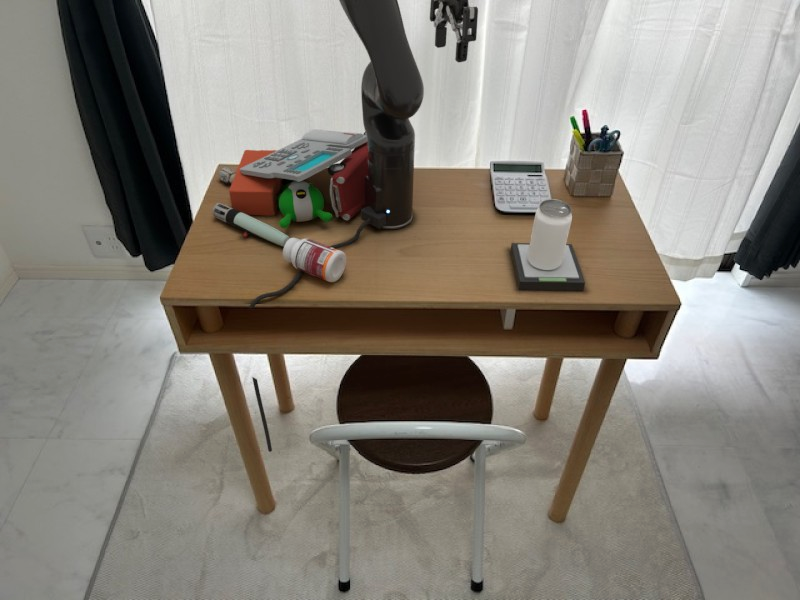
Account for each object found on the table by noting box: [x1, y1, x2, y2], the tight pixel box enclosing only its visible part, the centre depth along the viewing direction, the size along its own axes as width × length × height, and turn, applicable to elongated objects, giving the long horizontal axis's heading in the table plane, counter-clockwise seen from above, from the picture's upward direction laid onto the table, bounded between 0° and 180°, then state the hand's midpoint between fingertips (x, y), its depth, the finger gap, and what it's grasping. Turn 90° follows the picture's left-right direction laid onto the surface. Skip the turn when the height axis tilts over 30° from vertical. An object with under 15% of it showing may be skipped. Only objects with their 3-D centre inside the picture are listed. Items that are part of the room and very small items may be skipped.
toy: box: [277, 180, 333, 229], centre depth 130 cm, size 11×8×15 cm
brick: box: [228, 149, 283, 217], centre depth 136 cm, size 18×9×6 cm, turn 0°
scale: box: [509, 242, 586, 292], centre depth 118 cm, size 12×12×2 cm
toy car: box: [327, 130, 368, 221], centre depth 135 cm, size 11×25×10 cm
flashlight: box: [211, 202, 291, 248], centre depth 126 cm, size 3×4×20 cm
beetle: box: [218, 167, 237, 187], centre depth 140 cm, size 4×7×3 cm, turn 70°
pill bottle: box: [282, 237, 347, 283], centre depth 116 cm, size 6×6×11 cm
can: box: [527, 198, 573, 271], centre depth 113 cm, size 6×6×12 cm
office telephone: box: [240, 128, 367, 182], centre depth 132 cm, size 23×3×20 cm
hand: (450, 53), depth 123 cm, fingers open, 8 cm apart
